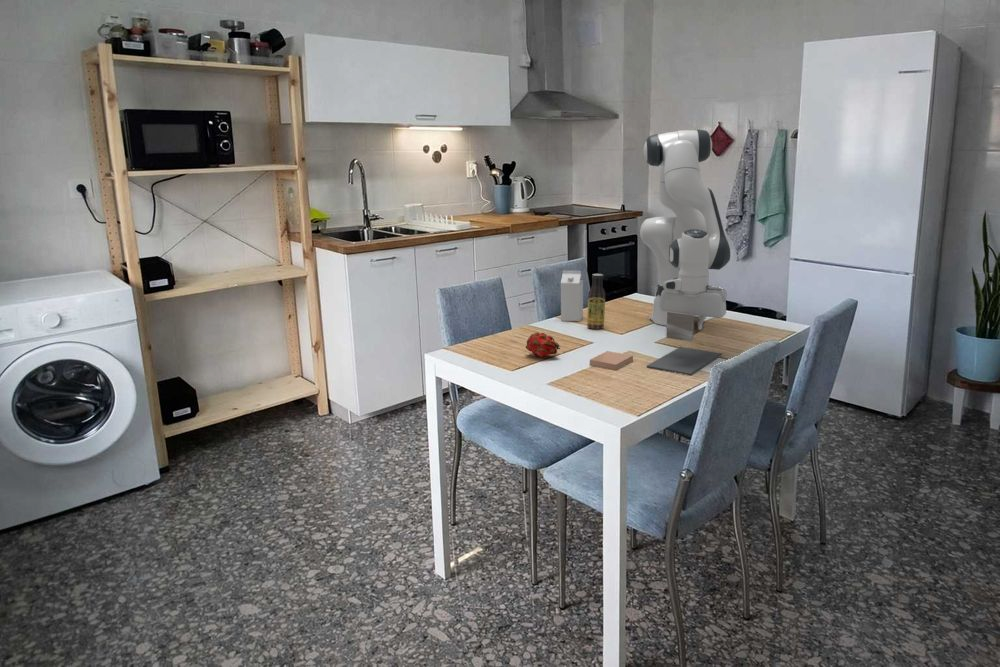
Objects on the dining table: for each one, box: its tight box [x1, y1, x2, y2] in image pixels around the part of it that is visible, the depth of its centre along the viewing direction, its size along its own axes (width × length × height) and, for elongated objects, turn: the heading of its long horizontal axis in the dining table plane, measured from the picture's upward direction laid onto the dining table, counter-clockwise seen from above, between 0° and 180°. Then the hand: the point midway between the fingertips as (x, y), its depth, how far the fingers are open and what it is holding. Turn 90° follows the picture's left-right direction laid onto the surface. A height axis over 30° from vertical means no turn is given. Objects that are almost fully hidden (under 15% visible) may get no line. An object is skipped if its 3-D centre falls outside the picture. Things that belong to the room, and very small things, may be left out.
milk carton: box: [560, 270, 584, 322], centre depth 270 cm, size 7×7×19 cm
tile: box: [589, 350, 634, 371], centre depth 217 cm, size 2×9×11 cm
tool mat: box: [646, 346, 723, 376], centre depth 216 cm, size 24×14×1 cm, turn 142°
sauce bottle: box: [586, 273, 606, 330], centre depth 256 cm, size 7×6×20 cm
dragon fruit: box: [525, 331, 561, 359], centre depth 225 cm, size 8×8×12 cm
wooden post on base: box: [665, 312, 705, 343], centre depth 215 cm, size 15×8×8 cm, turn 142°
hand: (691, 328), depth 217 cm, fingers closed on wooden post on base, 3 cm apart
